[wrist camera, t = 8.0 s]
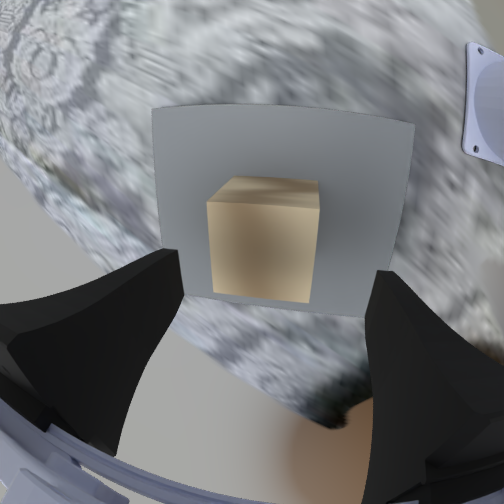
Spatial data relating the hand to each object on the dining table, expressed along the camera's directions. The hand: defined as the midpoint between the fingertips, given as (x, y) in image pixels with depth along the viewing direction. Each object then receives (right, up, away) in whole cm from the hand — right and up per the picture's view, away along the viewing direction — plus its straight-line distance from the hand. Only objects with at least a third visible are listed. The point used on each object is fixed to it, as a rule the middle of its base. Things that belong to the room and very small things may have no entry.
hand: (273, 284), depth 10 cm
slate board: (+1, +4, +9) cm, 10 cm away
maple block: (+1, +3, +8) cm, 8 cm away
